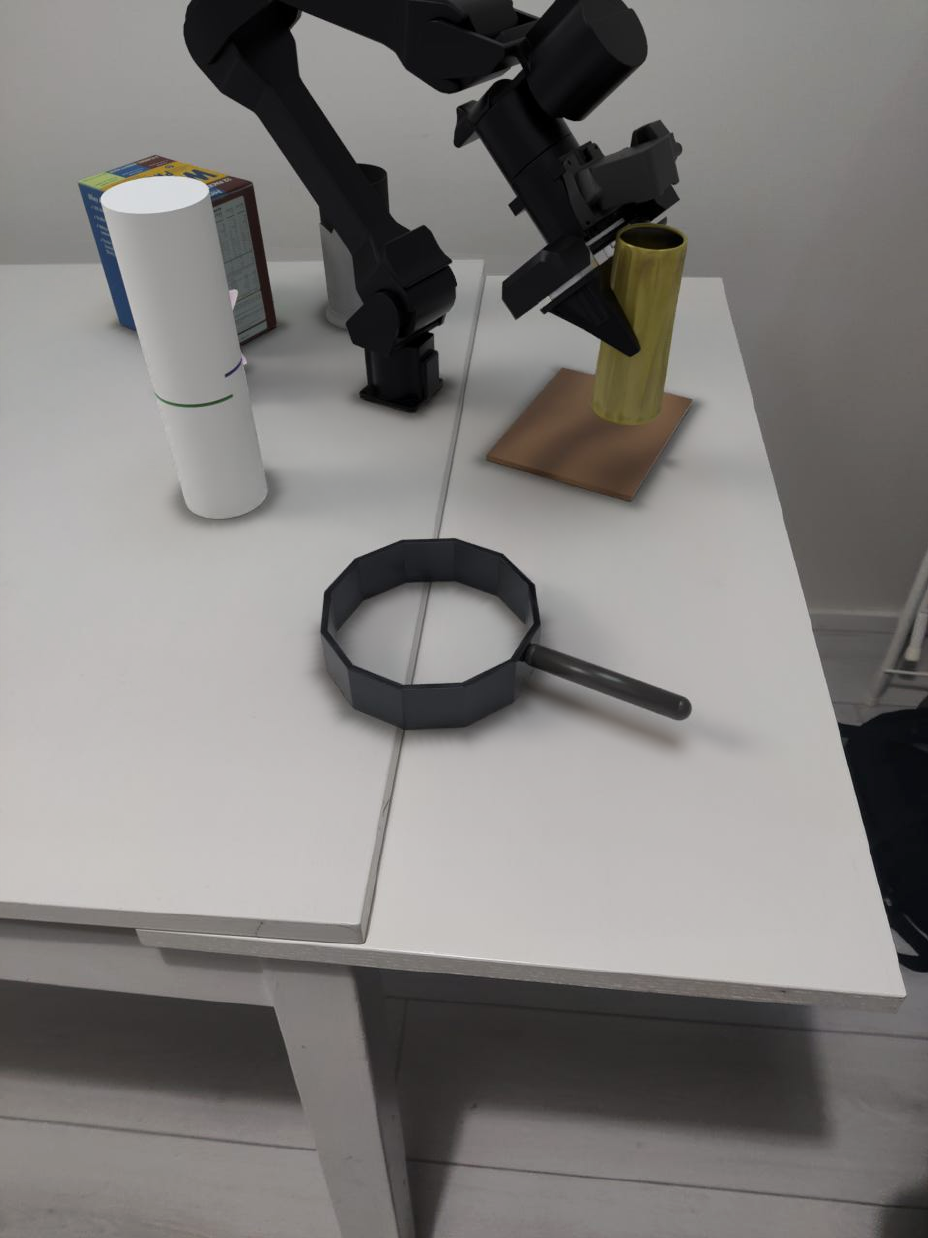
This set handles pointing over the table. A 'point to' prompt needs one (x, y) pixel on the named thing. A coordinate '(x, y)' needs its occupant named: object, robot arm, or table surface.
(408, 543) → the pan
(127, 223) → the cylindrical container
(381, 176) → the glass holder
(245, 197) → the protein box
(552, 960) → the table surface
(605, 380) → the vase
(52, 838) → the table surface
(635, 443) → the wooden board
